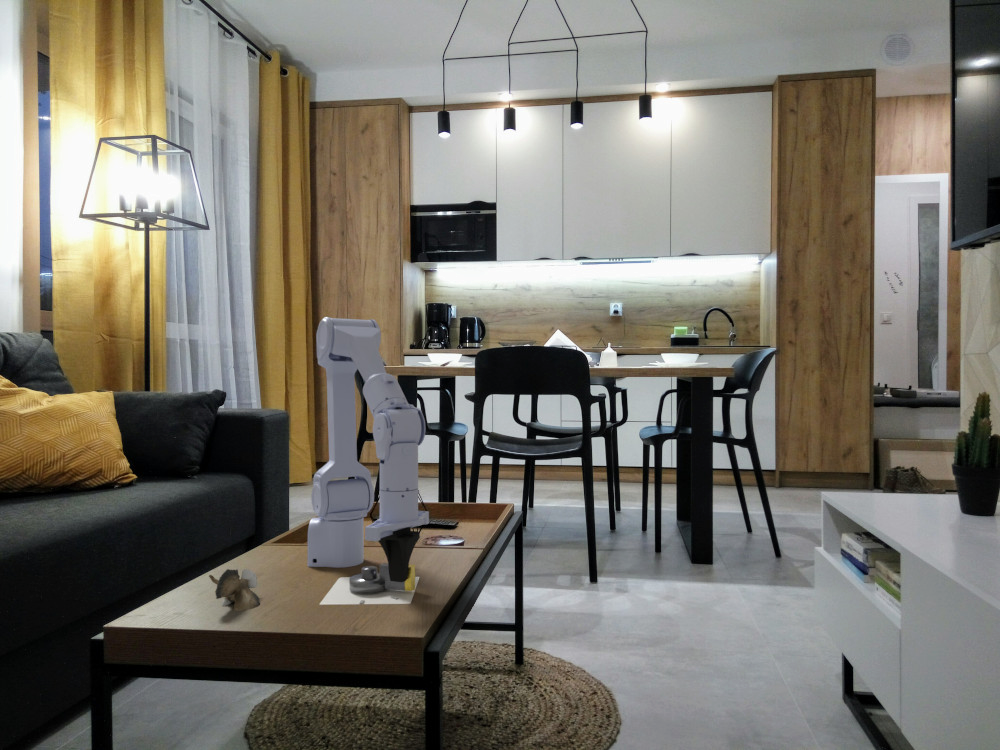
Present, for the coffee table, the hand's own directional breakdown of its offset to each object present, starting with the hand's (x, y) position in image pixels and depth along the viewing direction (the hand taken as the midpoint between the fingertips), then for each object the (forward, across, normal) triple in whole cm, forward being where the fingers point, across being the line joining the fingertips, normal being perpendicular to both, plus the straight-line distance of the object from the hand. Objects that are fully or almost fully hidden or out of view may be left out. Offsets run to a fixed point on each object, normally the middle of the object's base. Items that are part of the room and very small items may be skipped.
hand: (398, 580), depth 103 cm
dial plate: (+3, +1, +5) cm, 6 cm away
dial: (+2, +1, +4) cm, 4 cm away
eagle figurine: (+3, -13, +19) cm, 23 cm away
